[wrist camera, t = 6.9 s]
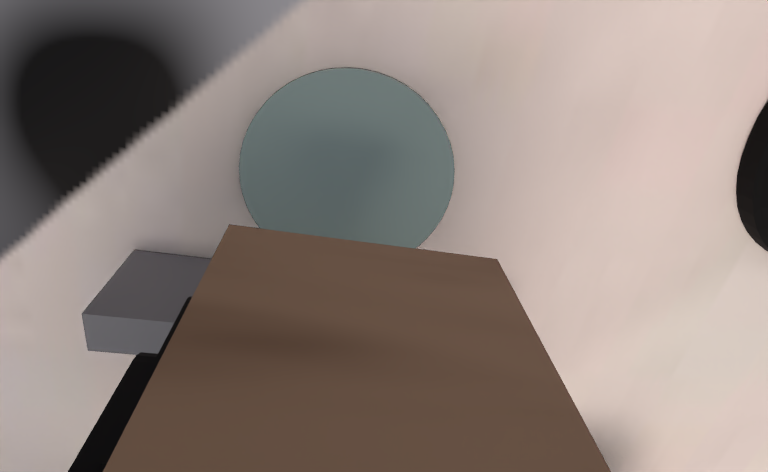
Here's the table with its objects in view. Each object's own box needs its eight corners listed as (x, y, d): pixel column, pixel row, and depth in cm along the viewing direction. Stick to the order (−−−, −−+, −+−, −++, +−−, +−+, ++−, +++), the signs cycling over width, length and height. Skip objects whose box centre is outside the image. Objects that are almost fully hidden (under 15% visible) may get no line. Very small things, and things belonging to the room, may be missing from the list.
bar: (497, 321, 26) (526, 388, 22) (137, 282, 23) (88, 350, 19) (508, 294, 25) (541, 358, 21) (134, 249, 22) (81, 313, 18)
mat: (332, 297, 24) (331, 301, 24) (194, 157, 20) (191, 160, 20) (489, 197, 22) (491, 200, 22) (371, 15, 18) (372, 15, 17)
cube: (433, 431, 13) (488, 726, 8) (225, 417, 12) (131, 737, 7) (497, 258, 10) (648, 543, 5) (229, 224, 9) (76, 524, 4)
